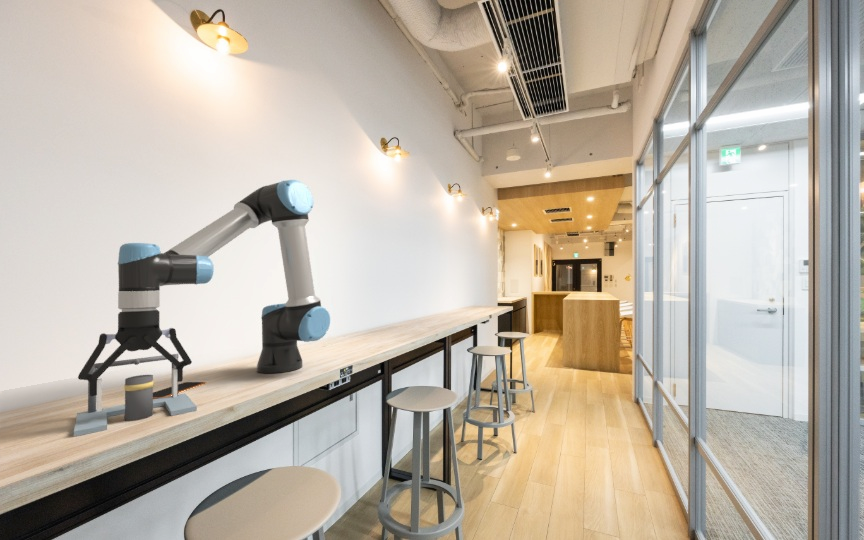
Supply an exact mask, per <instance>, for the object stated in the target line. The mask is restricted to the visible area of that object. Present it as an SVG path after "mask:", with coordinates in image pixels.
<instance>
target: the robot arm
mask: <svg viewBox="0 0 864 540" xmlns="http://www.w3.org/2000/svg"><path fill="white" fill-rule="evenodd" d="M313 208H314V196H313V194H312V192H311V190H310V189H309V187H307V186H306V185H305V183H303V182H301V181H300V180H297V179H289V180H287V179H286V180H281V181H279V182H275V183H272V184H269V185H263V186H261V187H259V188H258V189H256V190H254V191H253V192H251V193H250V194H248V195H247V196H245V197H244V198H242V199H240V201H238V202H236V203H235V204H234V206H233V209H231V210H230V211H229V212H227V213H225V214H223V215H222V216H221V217H219V218H217V219H216V220H214V221H213V222H211V223H210V224H207V225H206V226H205V227H203V228H202V229H200V230H199V231H197V232H195V233H193V234H192V235H190V236H189V237H187V238H186V239H184V240H183V241H180V242H179V243H178V244H176V245H174V246H173V247H171V248H169V250H166V251H165V252H161V250H160V249H161V248H160V246H159V245H158V244H156V243H155V244H154V243H145V242H127V243H124V244H122V245H120V246H119V252H118V262H117V266H118V267H117V268H118V271H117V272H118V292H117V295H118V297H117V298H118V300H117V305H118V306H117V308H118V309H119V310H121V311H119V313H118V314H117V317H118V318H117V332H116V333H115V334H114V333H109V334H107V333H105V332H103V333H101V334H99V336H98V337H99V339H98V343H97V345H96V346H95V348H94V350H93V351H92V353H91V355H90V356H89V358H88V359H87V361H86V363H85V364H84V366H83V368H82V369H81V370H80V372H79V373H78V375H77V379H78V380H80V381H81V380H84V381H87V382H88V381H89V382H90V396H96V410H97V412H99V411H101V409H102V398H103V397H102V393H103V391H102V390H103V387H102V386H103V383H102V378H99V377H101V376H102V374H104V373H105V372H106V370H108V369H109V368H110V367H109V366H110V365H111V364H112V363H113V362H114V361H117V360H118V359H119V357H121V356H122V354H123V353H125V351H128V352H137V351H148V350H150V349H152V348H154V349H155V351H157V352H158V353H159V354H161V356H162V355H163V356H164V357H165V358H167V359H168V362H170V363H171V365H172V364H174V365H175V366H176V368H172V367H171V387H172V396H173V397H177V382H178V383H179V382H181V383H182V381H183V379H184V378H183V373H184V371H183V370H184V367H186V366H188V365H191V364H192V362H193V361H192V360H191V358H190V356H189V355H188V353H187V351H186V350H185V349H184V346H183V345H182V344H181V341H179V339H178V337H177V331H176V329H175V328H173V327H170V328H168V329H162V330H161V328H160V311H159V310H158V309H157V308H159V307H160V306H161V305H160V301H161V300H160V299H161V298H160V296H161V295H160V293H161V292H160V291H161V289H160V288H161V287H163V286H177V285H203V284H207V283H209V282H211V280H212V279H213V276H214V270H215V269H214V264H213V260H212V259H211V258H209V257H210V256H212V255H213V254H214V253H216V252H217V251H219V250H221V248H223V247H225V246H226V245H228V244H229V243H230V242H232V241H233V240H234V239H236V238H237V237H239V236H241V235H242V234H243V233H245V232H246V231H248V230H249V229H256V228H258V227H259V226H260V225H262V224H264V223H266V222H269V221H271V224H272V225H273V226H274V227H276V228H277V233H278V239H279V246H280V252H281V259H282V265H283V272H284V276H285V277H284V279H285V284H286V291H287V297H288V299H287V301H286V303H278V304H277V303H275V304H271V305H270V304H269V305H266V306H265V307H263V308H262V311H261V318H260V319H261V339H262V340H261V343H262V347H261V348H262V349H261V352H260V355H259V357H258V361H257V363H256V372H258V373H259V374H260V373H261V374H279V373H286V372H287V373H288V372H291V371H292V372H293V371H296V370H299V369H301V368H303V358H302V356H301V353H300V350H299V347H298V342H304V343H305V342H306V343H309V342H310V343H311V342H316V341H319V340H320V339H323V338H324V337H325V336H326V334H327V331H328V330H329V328H330V325H331V316H330V313H329V311H328V310H327V309H326V308H325V307H323V306H322V303H321V299H320V298H319V297H318V296H316V294H315V287H314V279H313V274H312V273H313V272H312V267H311V266H312V265H311V261H310V253H309V252H310V251H309V247H308V238H307V232H306V225H307V224H308V223H309V220H310V219H309V214H310V213H311V211H312V209H313ZM162 335H163V336H165V338H167V339H169V340H170V342H171V343H172V345H173V347H174V348H175V350H176V351H177V354H178V356H179V357H180V358H181V359H182V361H179V359H178V360H177V359H176V358H175V357H173V356H172V355H171V354H172V353H170V352H169V351H168V350H167V349H165V347H164V346H162V345H161V344H160V343H159V342H158V340H160V338H161V337H162ZM113 340H116V342H117V343H118V344H119V346H118V347H117V348H116V349H115V350H114V352H112V353H111V354H110V355H109V356H108V357H107V358H106V359H105V360H104V361H103V362H101V363H102V364H101V365H100V366H99V367H98V368H97V369H96V370H95V371H94V373H93V374H90V373H89V371H90V370H91V368H92V366H93V365H94V364H96V362H97V360H98V359H99V357H100V356H101V354H102V352H103V351H104V349H105V347H106V345H108V344H110V343H111V342H112V341H113Z"/></svg>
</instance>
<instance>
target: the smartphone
mask: <svg viewBox="0 0 864 540" xmlns="http://www.w3.org/2000/svg"><path fill="white" fill-rule="evenodd" d="M205 383H206V384H207V382H206V381H185V382H181V383H178V394H180V393H179V392H181V391H184V390H186V391H188V390H187V389H189V390H191V389H190V388H192V389H194V388H193V387H195V388H197V387H200V386H203V385H206V384H205ZM202 384H203V385H202ZM199 385H200V386H199ZM196 386H197V387H196ZM184 392H185V391H184ZM181 393H182V392H181ZM171 395H172V386H170V387H167V388H163V389H160V390H155V391H153V399H157V398H163V397H168V396H171Z"/></svg>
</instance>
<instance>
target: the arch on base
mask: <svg viewBox="0 0 864 540" xmlns="http://www.w3.org/2000/svg"><path fill="white" fill-rule="evenodd" d="M170 354H171V355H172V356H173V357H175V358H176V359H177V360H178V361H179V353H173V354H172V353H170ZM165 360H168V359H167V358H165V357H164V356H163V355H162V354H161V355H156V356H147V357H139V358H130V359H121V360H115V361H114V362H113V363H112V364H111V365H110V366H109V367H108V368H112V367H119V366H127V365H128V366H129V365H136V366H138V365H139V364H141V363H143V364H144V363H150V362H151V363H153V362H159V361H165ZM168 361H169V360H168ZM102 363H103V362H99V363H98V362H97V363H96V362H95V363H94V365H93V366H92V368H91V370H90V371H89V373H90V374H93V373H94V371H95V370H96V369H97V368H98V367H99V366H100V365H101V364H102ZM172 368H176V366H175V365H174V364H172V363H171V369H172ZM178 384H179V382H177V397H173V396H168V397H163V398H157V399H153V408H154V409H155V408H159V407H163V406H164V407H165V408H166V409H167V412H168V413H169V415H170V417H171V416H177V415H181V414H186V413H191V412H195V411H198V410H197V408H198V407H197V405H196V404H195V403H194V401H193V400H192V399H191V398H190V397H189V396H188V394H186V393H184V392H183V393H178ZM123 414H124V415H125V403H124V404H121V405H115V406H114V405H113V406H109V407H103V408H101V411H99V412H97V395H96V396H90V382H89V381H88V380H87V411H83V412H82V411H81V412H77V413H76V418H75V423H74V428H73V429H74V430H73V437H78V436H83V435H88V434H92V433H98V432H102V431H107V429H108V417H113V416H118V415H123Z"/></svg>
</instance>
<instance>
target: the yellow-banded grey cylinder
mask: <svg viewBox="0 0 864 540" xmlns="http://www.w3.org/2000/svg"><path fill="white" fill-rule="evenodd" d="M124 382H125V383H124V404H125V413H124V420H125V421H127V422H133V421H134V422H135V421H139V420H140V421H141V420H144V419H147V418H150V417H152V416H153V414H154V409H153V392H154V375H153V374H140V375H139V374H138V375H134V376H130V377H129V376H128V377H127V378H125V380H124Z"/></svg>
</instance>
